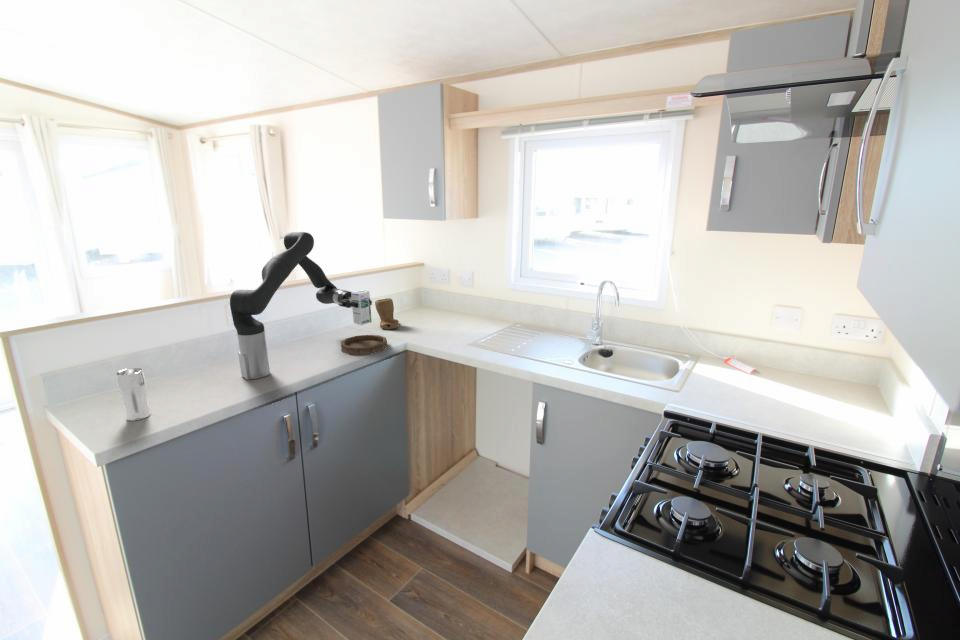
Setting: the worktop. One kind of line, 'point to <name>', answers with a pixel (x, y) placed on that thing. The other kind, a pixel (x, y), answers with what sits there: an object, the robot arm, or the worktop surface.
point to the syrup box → (361, 307)
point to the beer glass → (133, 393)
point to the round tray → (363, 344)
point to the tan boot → (386, 313)
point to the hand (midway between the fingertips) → (364, 304)
